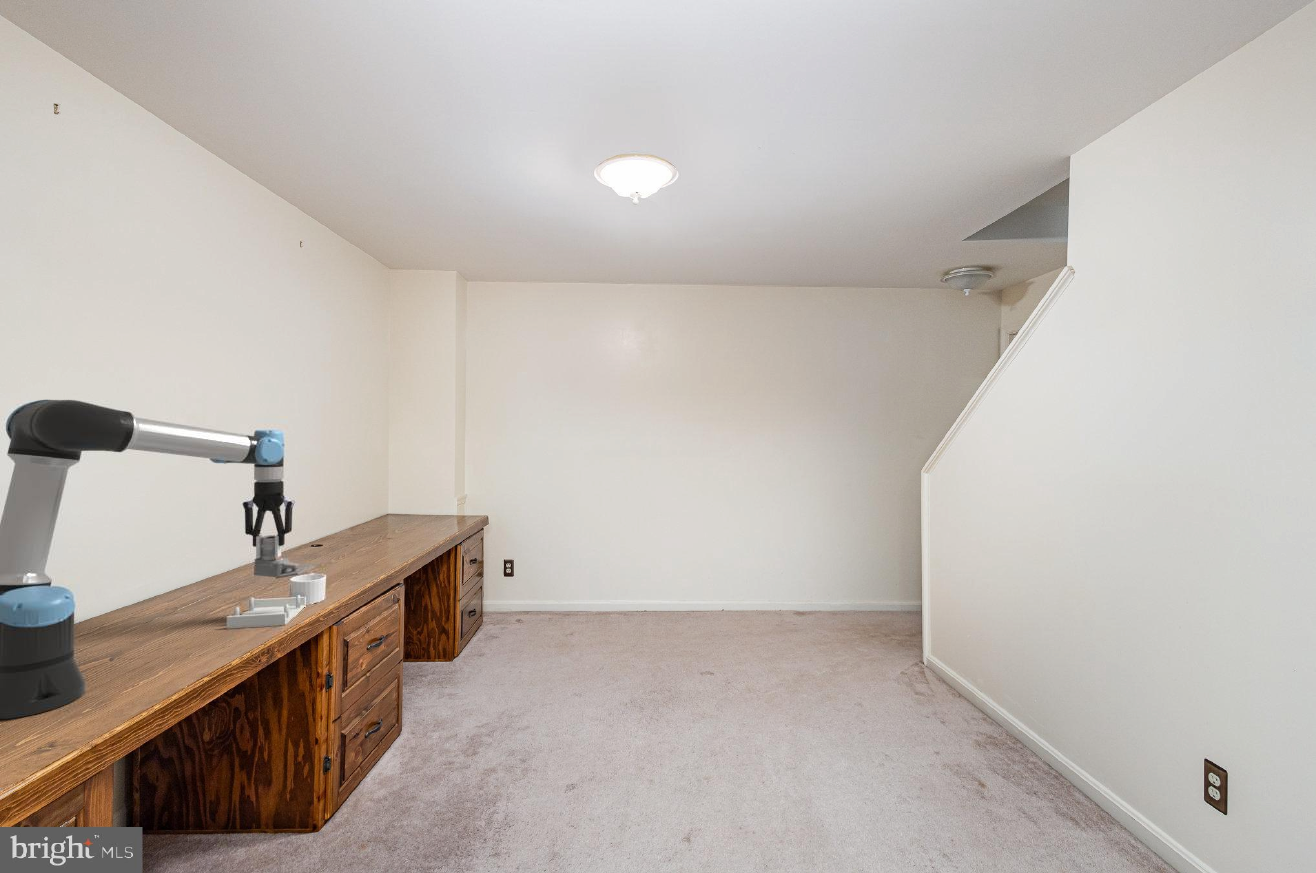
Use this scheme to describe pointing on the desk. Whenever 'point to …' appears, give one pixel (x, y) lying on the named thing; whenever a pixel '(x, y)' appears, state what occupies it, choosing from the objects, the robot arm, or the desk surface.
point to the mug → (309, 587)
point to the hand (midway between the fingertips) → (268, 556)
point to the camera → (275, 562)
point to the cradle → (267, 612)
